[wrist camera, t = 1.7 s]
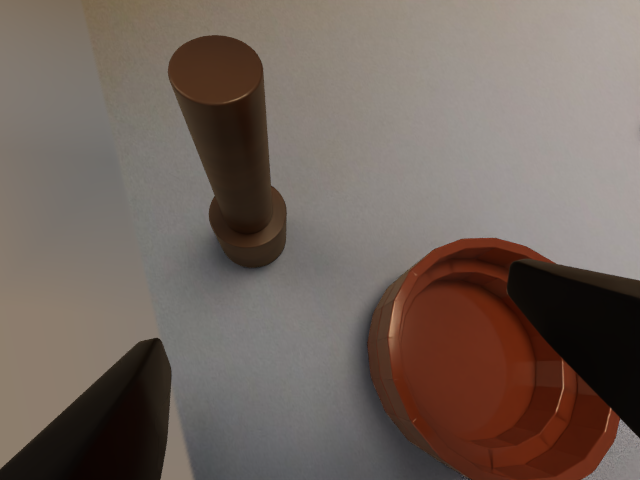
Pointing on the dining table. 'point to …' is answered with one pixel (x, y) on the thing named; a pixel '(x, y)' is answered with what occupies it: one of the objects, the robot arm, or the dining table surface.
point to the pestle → (232, 144)
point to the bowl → (481, 372)
